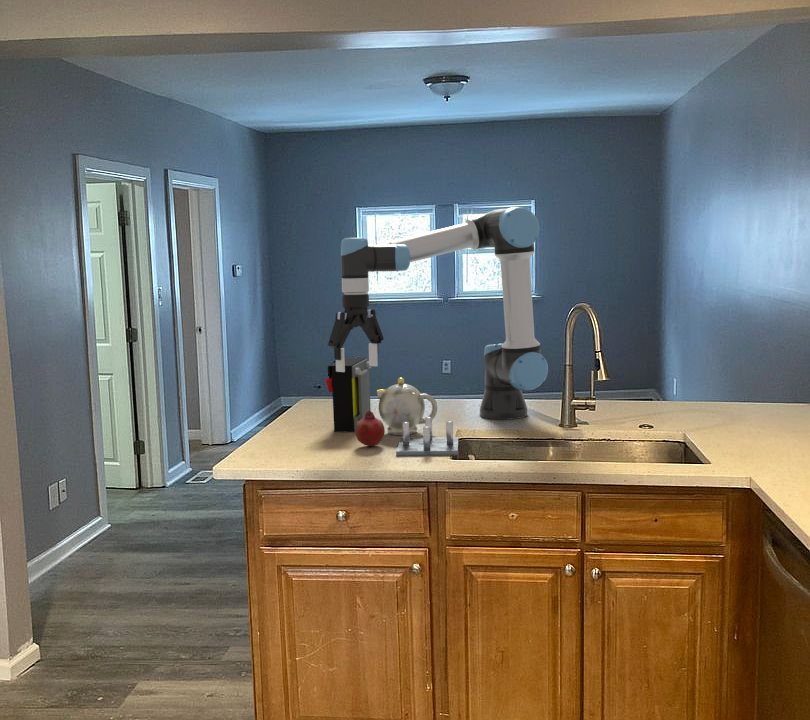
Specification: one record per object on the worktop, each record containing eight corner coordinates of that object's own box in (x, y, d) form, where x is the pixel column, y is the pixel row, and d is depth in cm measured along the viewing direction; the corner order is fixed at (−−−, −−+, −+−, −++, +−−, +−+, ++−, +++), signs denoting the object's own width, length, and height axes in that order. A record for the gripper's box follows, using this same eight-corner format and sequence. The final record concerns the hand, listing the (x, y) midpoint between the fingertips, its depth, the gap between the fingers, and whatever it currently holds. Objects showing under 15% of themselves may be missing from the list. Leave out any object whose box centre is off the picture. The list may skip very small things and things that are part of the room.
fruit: (388, 443, 236) (387, 408, 234) (381, 450, 228) (379, 414, 227) (360, 442, 237) (359, 407, 236) (352, 449, 230) (350, 413, 228)
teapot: (372, 437, 244) (370, 381, 242) (382, 427, 257) (380, 374, 255) (434, 438, 240) (432, 381, 238) (441, 428, 254) (439, 374, 252)
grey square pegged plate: (458, 441, 236) (457, 415, 235) (457, 455, 220) (456, 428, 219) (401, 442, 237) (400, 416, 236) (396, 455, 221) (395, 428, 220)
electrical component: (361, 432, 251) (358, 365, 249) (328, 431, 254) (325, 365, 251) (374, 420, 269) (372, 357, 266) (343, 419, 271) (341, 358, 268)
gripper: (375, 291, 248) (376, 362, 251) (313, 295, 229) (316, 373, 232) (394, 291, 243) (396, 364, 246) (333, 296, 224) (335, 375, 227)
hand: (357, 368), depth 239 cm, fingers open, 13 cm apart
